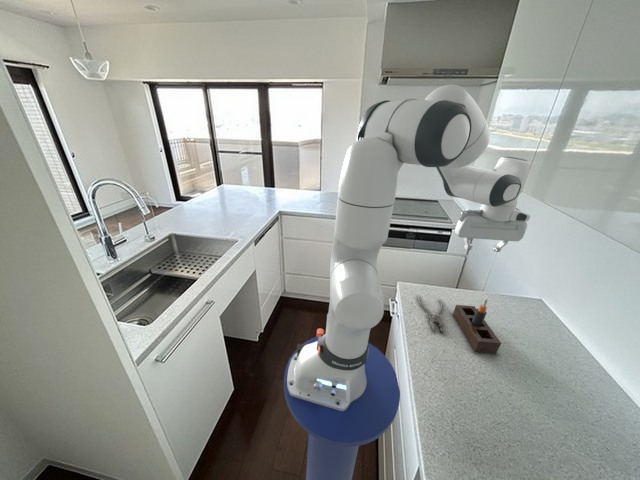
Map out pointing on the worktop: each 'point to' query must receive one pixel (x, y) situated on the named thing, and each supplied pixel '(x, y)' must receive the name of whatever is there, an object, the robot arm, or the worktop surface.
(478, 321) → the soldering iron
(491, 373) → the worktop surface
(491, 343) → the holder
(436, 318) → the pliers
